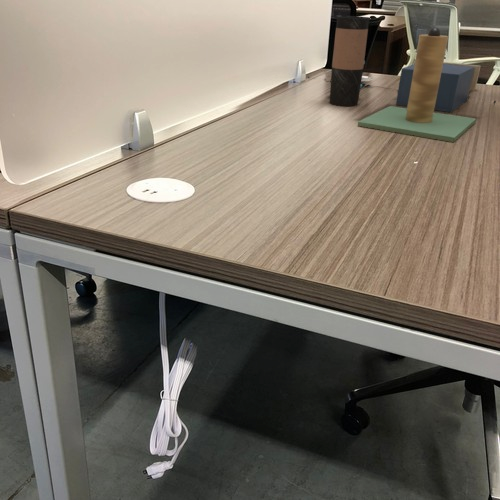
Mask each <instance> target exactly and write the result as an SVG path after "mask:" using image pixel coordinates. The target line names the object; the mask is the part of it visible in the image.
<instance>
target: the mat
mask: <svg viewBox="0 0 500 500" xmlns="http://www.w3.org/2000/svg"><path fill="white" fill-rule="evenodd" d="M406 112H407V107H398V106H393V105H392V106H391V105H389V106H387V107H385V108H383V109H381V110H379V111H377V112H374V113H373V114H370V115H369V116H366V117H364V118H363V119H360V120H359V121H358V122H357V127H360V126H362V127H361V128H366V127H368V128H367V129H372V128H374V129H373V130H377V129H380V130H379V131H383V130H385V132H389V131H390V133H395V132H396V134H400V135H401V134H402V135H408V136H413V135H414V137H420V138H424V139H430V138H431V139H432V140H436V139H437V140H438V141H443V142H449V143H454V142H456V141H457V140H458V139H459V138H460V137H461V136H463V135H464V134H465V133H466V132H467V131H468V130H470V128H471V127H473V126H474V125H475V124H476V122H477V118H475V117H467V116H462V115H461V116H460V115H453V114H448V113H439V112H434V114H433V119H432V122H430V123H416V122H411V121H408V120H406V119H405V118H406Z"/></svg>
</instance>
